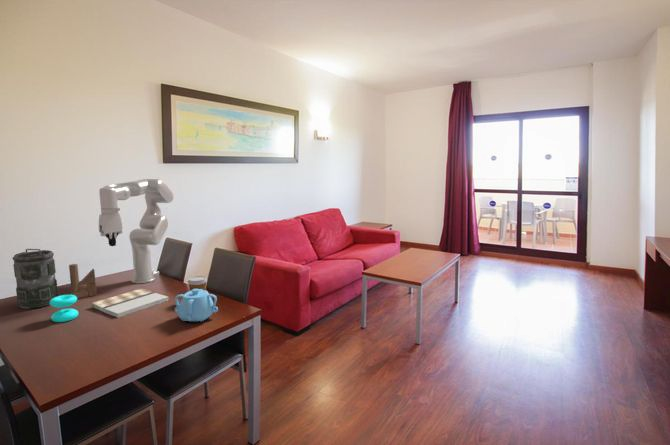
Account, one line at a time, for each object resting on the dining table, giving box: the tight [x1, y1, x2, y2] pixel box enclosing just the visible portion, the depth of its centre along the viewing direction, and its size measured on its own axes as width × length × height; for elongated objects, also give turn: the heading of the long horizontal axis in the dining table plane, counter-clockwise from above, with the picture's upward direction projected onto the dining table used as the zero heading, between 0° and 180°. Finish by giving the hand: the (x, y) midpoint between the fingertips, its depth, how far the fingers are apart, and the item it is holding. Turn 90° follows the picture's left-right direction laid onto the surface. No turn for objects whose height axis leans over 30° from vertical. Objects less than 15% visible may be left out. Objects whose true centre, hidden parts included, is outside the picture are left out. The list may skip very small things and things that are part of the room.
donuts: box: [49, 294, 79, 323], centre depth 167 cm, size 10×10×10 cm
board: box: [103, 291, 170, 318], centre depth 184 cm, size 26×12×2 cm, turn 149°
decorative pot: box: [174, 289, 219, 323], centre depth 170 cm, size 16×16×14 cm
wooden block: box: [68, 263, 97, 300], centre depth 194 cm, size 4×11×18 cm, turn 130°
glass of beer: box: [187, 275, 208, 291], centre depth 191 cm, size 10×10×12 cm
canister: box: [12, 248, 59, 310], centre depth 183 cm, size 16×16×28 cm
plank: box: [91, 287, 153, 313], centre depth 189 cm, size 26×10×2 cm, turn 149°
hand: (112, 245), depth 196 cm, fingers closed
